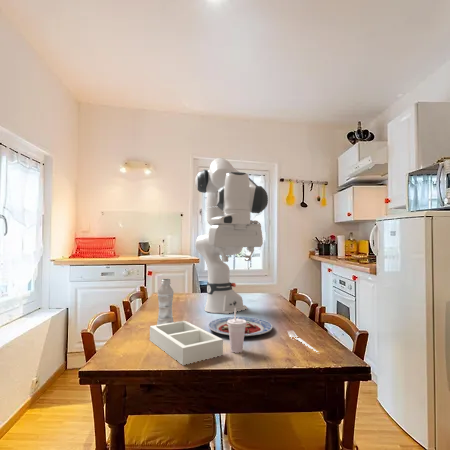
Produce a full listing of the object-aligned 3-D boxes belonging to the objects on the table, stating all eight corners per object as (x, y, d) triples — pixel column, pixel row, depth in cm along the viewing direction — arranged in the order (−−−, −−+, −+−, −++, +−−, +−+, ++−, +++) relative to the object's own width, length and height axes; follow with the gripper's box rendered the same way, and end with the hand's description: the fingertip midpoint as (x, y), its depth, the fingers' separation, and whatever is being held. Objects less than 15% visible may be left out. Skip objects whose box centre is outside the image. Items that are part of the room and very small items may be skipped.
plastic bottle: (176, 327, 128) (176, 278, 128) (168, 332, 121) (168, 280, 122) (162, 326, 130) (163, 278, 130) (153, 330, 123) (154, 280, 124)
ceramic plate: (254, 345, 108) (254, 337, 108) (195, 333, 121) (195, 325, 121) (282, 327, 130) (282, 320, 130) (229, 318, 143) (229, 312, 143)
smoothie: (226, 347, 105) (226, 305, 106) (244, 347, 106) (245, 305, 106) (227, 354, 99) (228, 310, 99) (247, 354, 99) (248, 310, 100)
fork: (315, 356, 100) (315, 350, 100) (286, 335, 119) (286, 330, 119) (323, 355, 101) (324, 349, 101) (293, 335, 120) (294, 330, 120)
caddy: (149, 340, 112) (149, 326, 112) (184, 333, 120) (184, 320, 120) (182, 365, 90) (182, 348, 90) (222, 355, 98) (222, 339, 98)
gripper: (255, 221, 112) (254, 259, 112) (206, 218, 101) (205, 261, 100) (266, 220, 107) (266, 260, 107) (216, 217, 96) (216, 263, 95)
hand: (236, 261), depth 103 cm, fingers open, 8 cm apart
